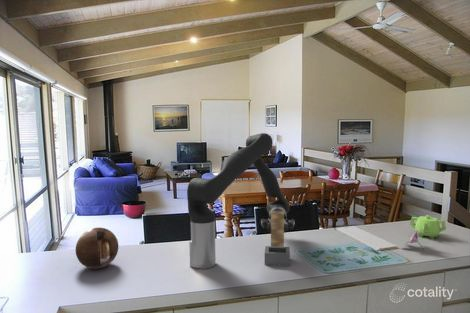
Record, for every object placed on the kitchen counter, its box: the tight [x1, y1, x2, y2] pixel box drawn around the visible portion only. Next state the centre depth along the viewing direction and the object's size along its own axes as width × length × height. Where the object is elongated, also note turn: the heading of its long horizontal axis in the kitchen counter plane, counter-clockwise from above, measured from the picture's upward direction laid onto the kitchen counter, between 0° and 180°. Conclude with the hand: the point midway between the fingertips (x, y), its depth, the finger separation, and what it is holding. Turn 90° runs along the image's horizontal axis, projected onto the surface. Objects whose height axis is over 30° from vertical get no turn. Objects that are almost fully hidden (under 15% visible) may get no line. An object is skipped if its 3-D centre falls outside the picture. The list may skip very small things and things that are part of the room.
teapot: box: [409, 214, 447, 240], centre depth 169 cm, size 12×12×10 cm
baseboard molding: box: [335, 223, 399, 252], centre depth 166 cm, size 31×3×12 cm
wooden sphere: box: [75, 227, 119, 270], centre depth 134 cm, size 15×15×15 cm
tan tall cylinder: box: [270, 211, 285, 247], centre depth 138 cm, size 5×4×13 cm
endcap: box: [264, 245, 291, 267], centre depth 139 cm, size 10×8×5 cm
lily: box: [405, 228, 424, 251], centre depth 152 cm, size 12×12×10 cm
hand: (277, 229), depth 136 cm, fingers closed on tan tall cylinder, 5 cm apart
